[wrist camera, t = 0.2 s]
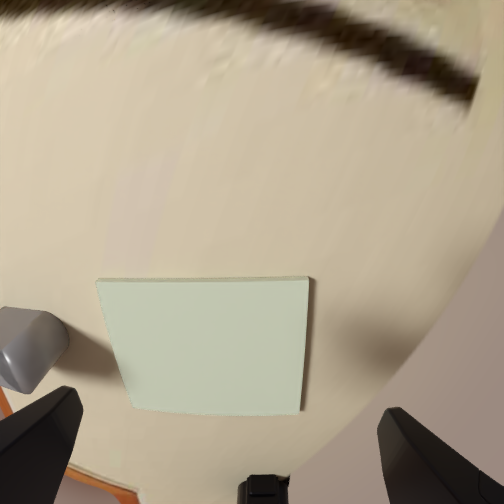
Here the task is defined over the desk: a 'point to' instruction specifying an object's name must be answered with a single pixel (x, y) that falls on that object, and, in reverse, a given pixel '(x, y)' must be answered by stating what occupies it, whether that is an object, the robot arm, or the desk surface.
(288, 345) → the sage pad
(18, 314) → the rounded connector
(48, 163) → the desk surface
